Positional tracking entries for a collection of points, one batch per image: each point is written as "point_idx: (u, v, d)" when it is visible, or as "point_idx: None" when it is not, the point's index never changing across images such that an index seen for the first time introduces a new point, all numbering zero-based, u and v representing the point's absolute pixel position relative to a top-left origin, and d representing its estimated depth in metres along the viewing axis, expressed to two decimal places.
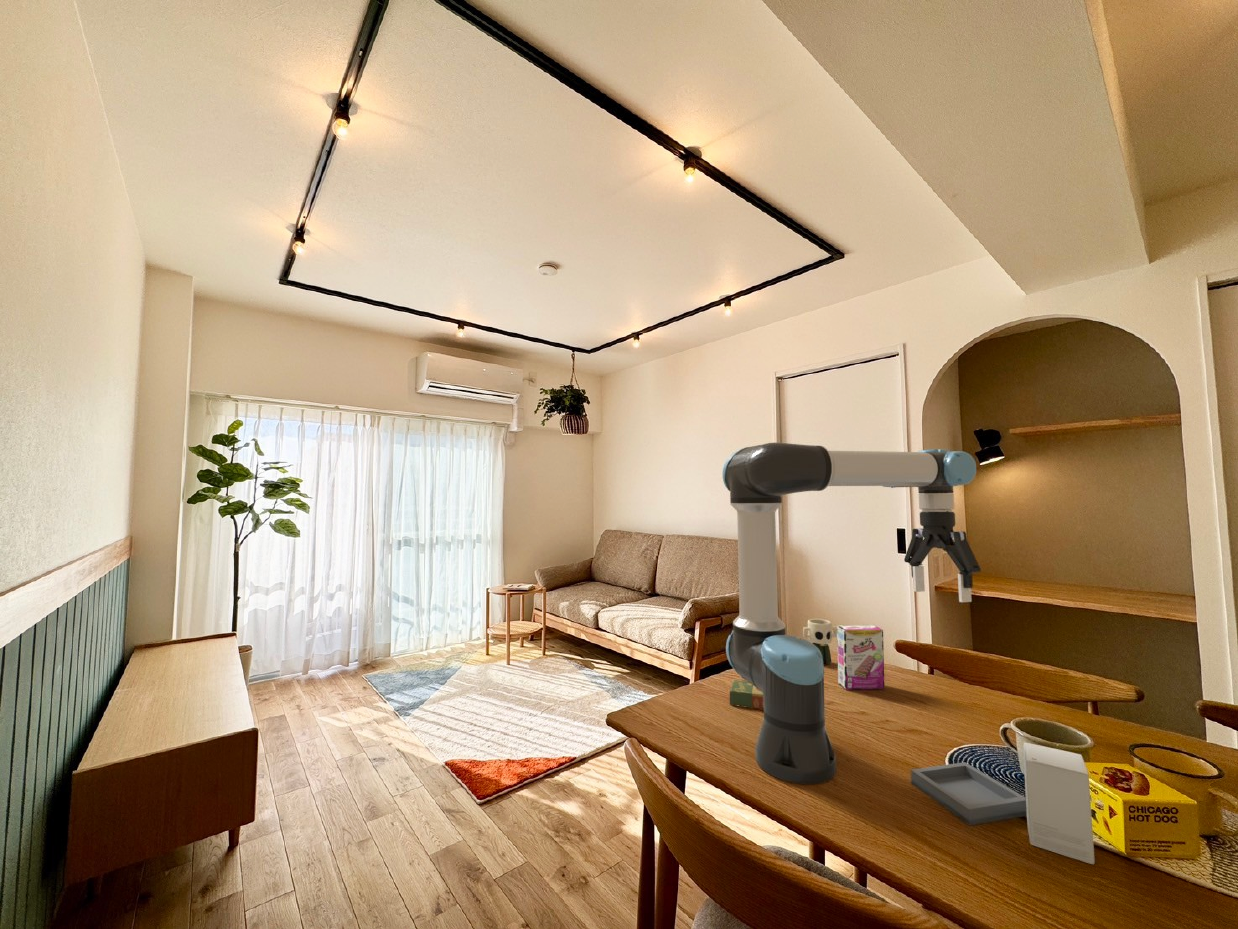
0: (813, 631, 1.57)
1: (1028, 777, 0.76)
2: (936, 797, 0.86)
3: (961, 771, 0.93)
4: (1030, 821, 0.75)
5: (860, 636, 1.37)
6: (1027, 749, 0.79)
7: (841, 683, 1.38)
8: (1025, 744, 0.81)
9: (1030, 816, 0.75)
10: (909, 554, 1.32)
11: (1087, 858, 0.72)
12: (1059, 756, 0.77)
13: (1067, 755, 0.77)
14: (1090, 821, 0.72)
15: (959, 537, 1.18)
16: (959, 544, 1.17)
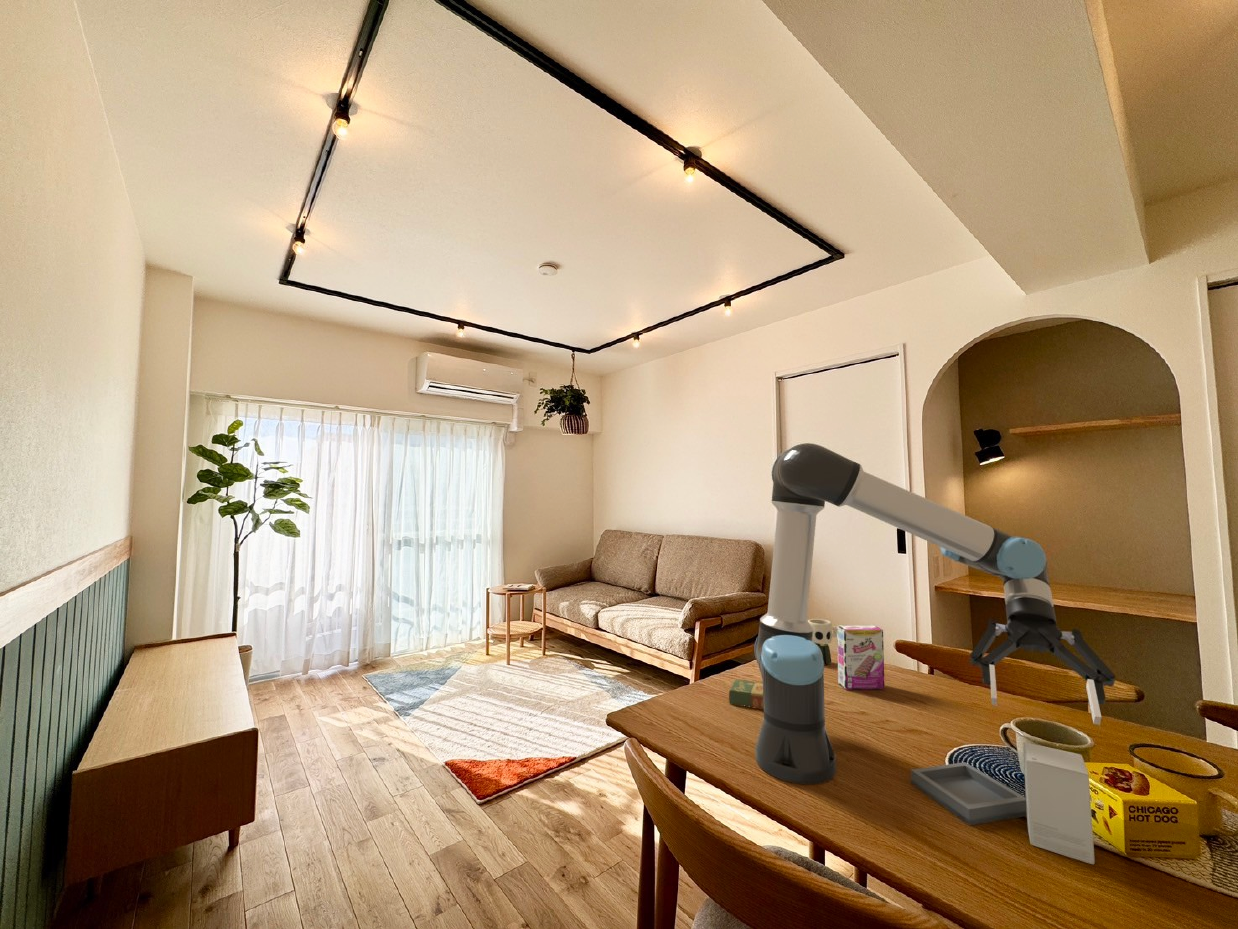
0: (813, 631, 1.57)
1: (1028, 777, 0.76)
2: (936, 797, 0.86)
3: (961, 771, 0.93)
4: (1030, 821, 0.75)
5: (860, 636, 1.37)
6: (1027, 749, 0.79)
7: (841, 683, 1.38)
8: (1025, 744, 0.81)
9: (1030, 816, 0.75)
10: (981, 649, 0.96)
11: (1087, 858, 0.72)
12: (1059, 756, 0.77)
13: (1067, 755, 0.77)
14: (1090, 821, 0.72)
15: (1082, 637, 0.91)
16: (1085, 644, 0.90)
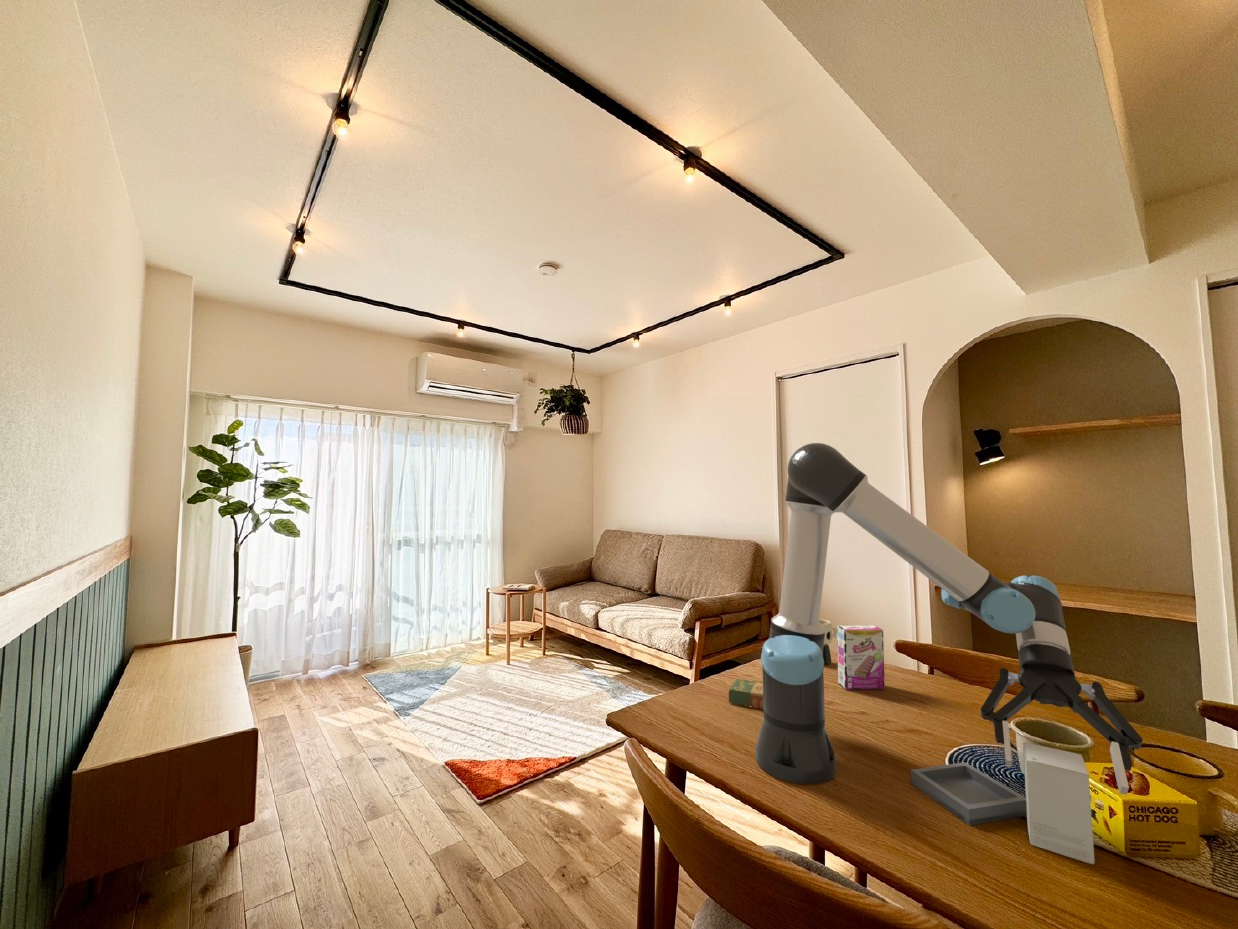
0: None
1: (1028, 777, 0.76)
2: (936, 797, 0.86)
3: (961, 771, 0.93)
4: (1030, 821, 0.75)
5: (860, 636, 1.37)
6: (1027, 749, 0.79)
7: (841, 683, 1.38)
8: (1025, 744, 0.81)
9: (1030, 816, 0.75)
10: (993, 702, 0.88)
11: (1087, 858, 0.72)
12: (1059, 756, 0.77)
13: (1067, 755, 0.77)
14: (1090, 821, 0.72)
15: None
16: (1107, 700, 0.82)
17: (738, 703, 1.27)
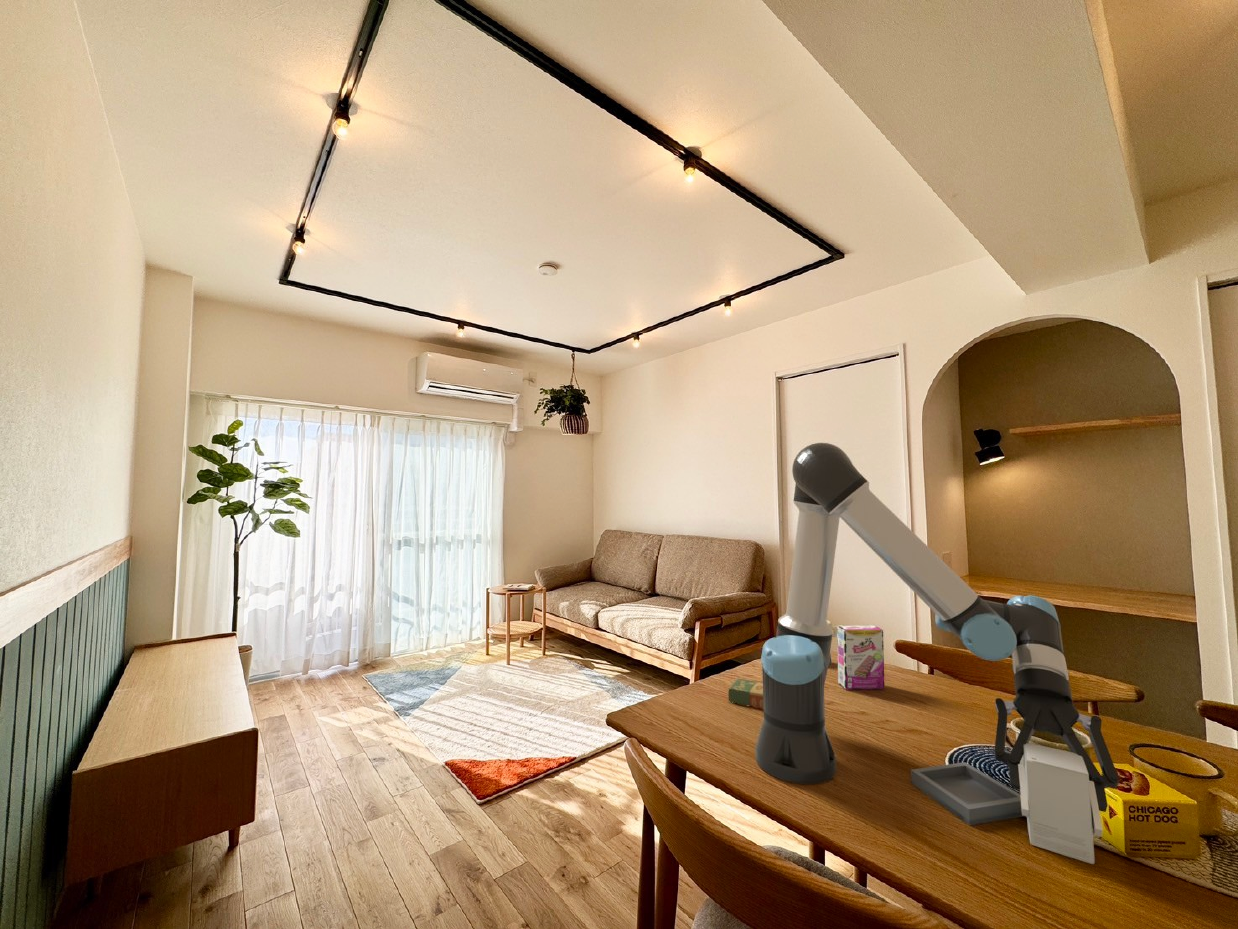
0: None
1: (1028, 777, 0.76)
2: (936, 797, 0.86)
3: (961, 771, 0.93)
4: (1030, 821, 0.75)
5: (860, 636, 1.37)
6: (1027, 749, 0.79)
7: (841, 683, 1.38)
8: (1025, 744, 0.81)
9: (1030, 816, 0.75)
10: (1003, 740, 0.82)
11: (1087, 858, 0.72)
12: (1059, 756, 0.77)
13: (1067, 754, 0.77)
14: (1090, 821, 0.72)
15: None
16: (1100, 735, 0.78)
17: (738, 702, 1.27)
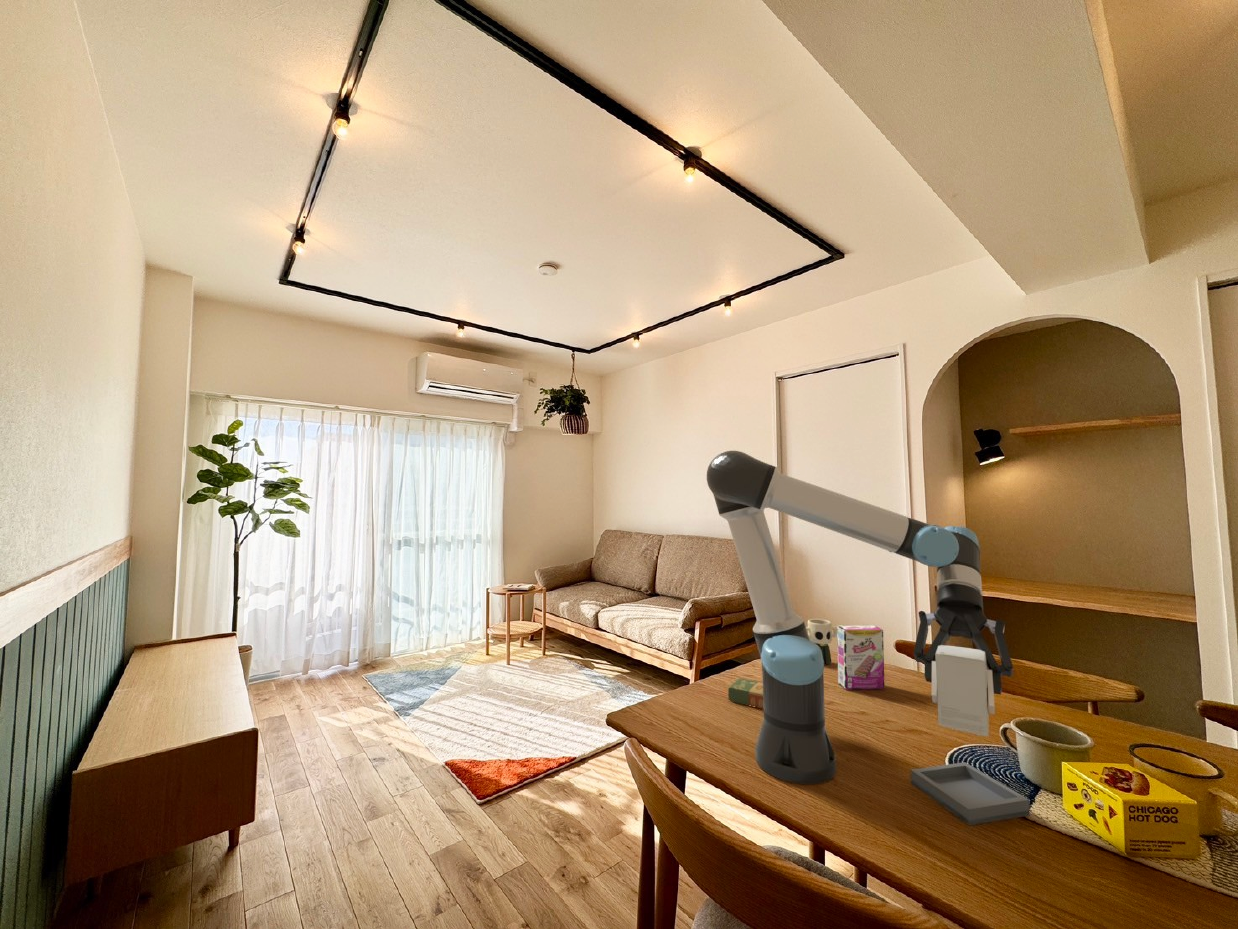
0: (813, 631, 1.57)
1: (937, 668, 0.88)
2: (936, 797, 0.86)
3: (961, 771, 0.93)
4: (938, 705, 0.87)
5: (860, 636, 1.37)
6: (939, 648, 0.91)
7: (841, 683, 1.38)
8: None
9: (938, 701, 0.87)
10: (921, 643, 0.94)
11: (982, 732, 0.83)
12: (964, 651, 0.89)
13: (972, 650, 0.89)
14: (985, 700, 0.83)
15: (1003, 628, 0.91)
16: (1002, 634, 0.90)
17: (737, 701, 1.28)
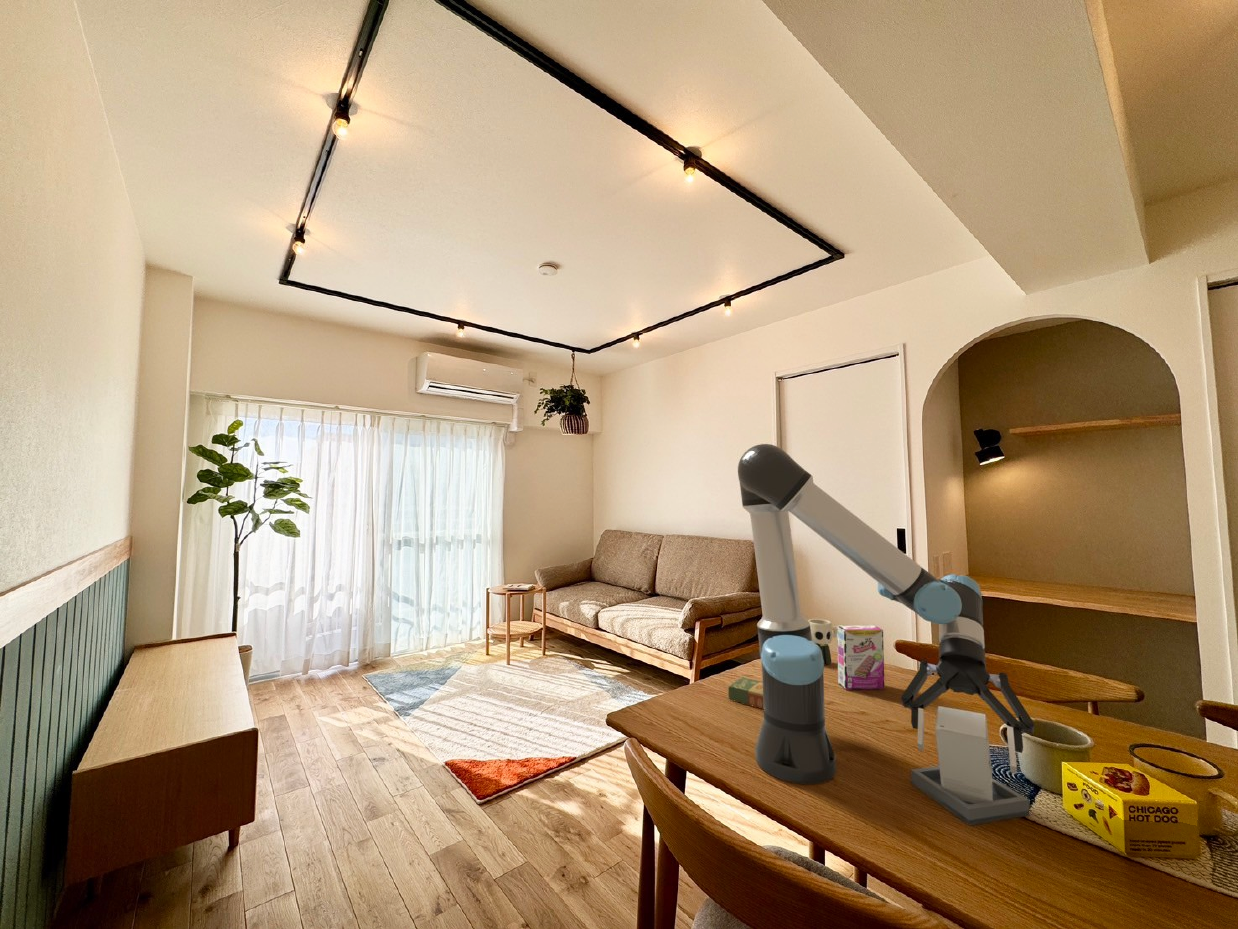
0: (813, 631, 1.57)
1: (937, 742, 0.86)
2: (936, 797, 0.86)
3: None
4: (941, 777, 0.86)
5: (860, 636, 1.37)
6: (939, 715, 0.89)
7: (841, 683, 1.38)
8: (939, 708, 0.90)
9: (941, 773, 0.86)
10: (912, 691, 0.95)
11: None
12: (965, 719, 0.86)
13: (973, 716, 0.87)
14: (988, 775, 0.82)
15: None
16: (1010, 688, 0.89)
17: (737, 700, 1.29)
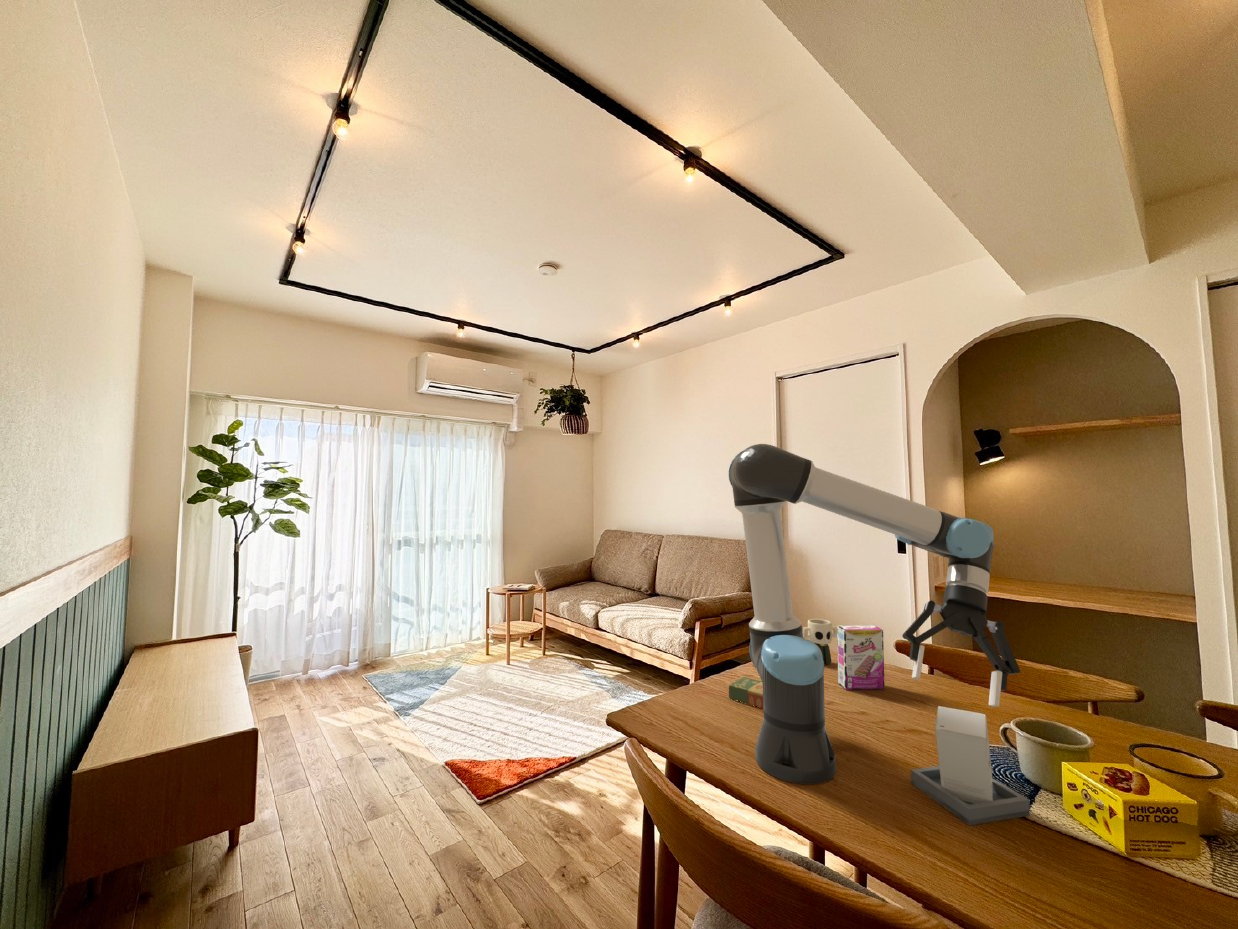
0: (813, 631, 1.57)
1: (937, 742, 0.86)
2: (936, 797, 0.86)
3: None
4: (941, 777, 0.86)
5: (860, 636, 1.37)
6: (939, 715, 0.89)
7: (841, 683, 1.38)
8: (939, 708, 0.90)
9: (941, 773, 0.86)
10: (916, 629, 1.04)
11: None
12: (965, 719, 0.86)
13: (973, 716, 0.87)
14: (988, 775, 0.82)
15: None
16: (1004, 637, 1.00)
17: (737, 699, 1.29)
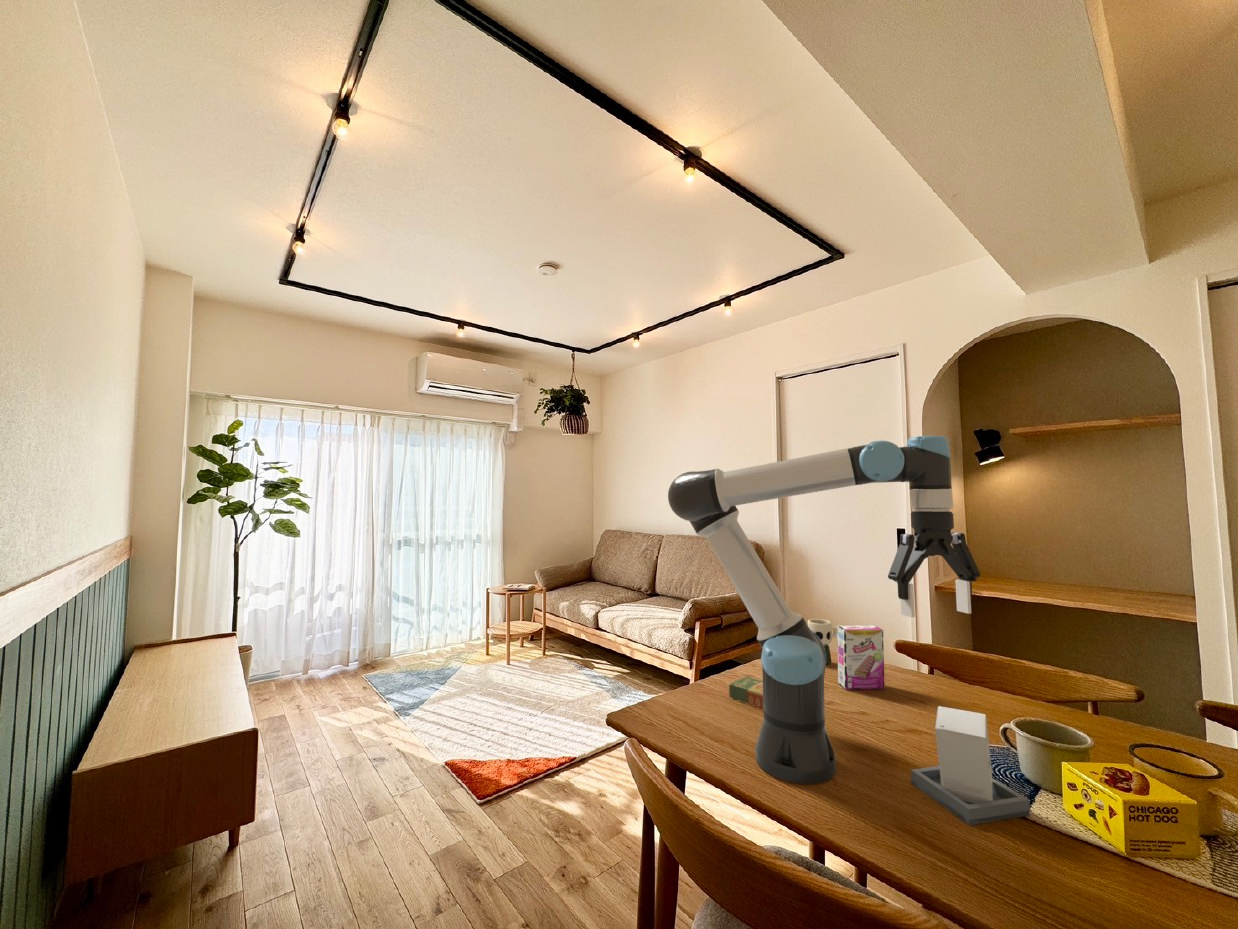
0: (813, 631, 1.57)
1: (937, 742, 0.86)
2: (936, 797, 0.86)
3: None
4: (941, 777, 0.86)
5: (860, 636, 1.37)
6: (939, 715, 0.89)
7: (841, 683, 1.38)
8: (939, 708, 0.90)
9: (941, 773, 0.86)
10: (904, 569, 1.00)
11: None
12: (965, 719, 0.86)
13: (973, 716, 0.87)
14: (988, 775, 0.82)
15: None
16: (966, 547, 1.03)
17: (737, 699, 1.30)
